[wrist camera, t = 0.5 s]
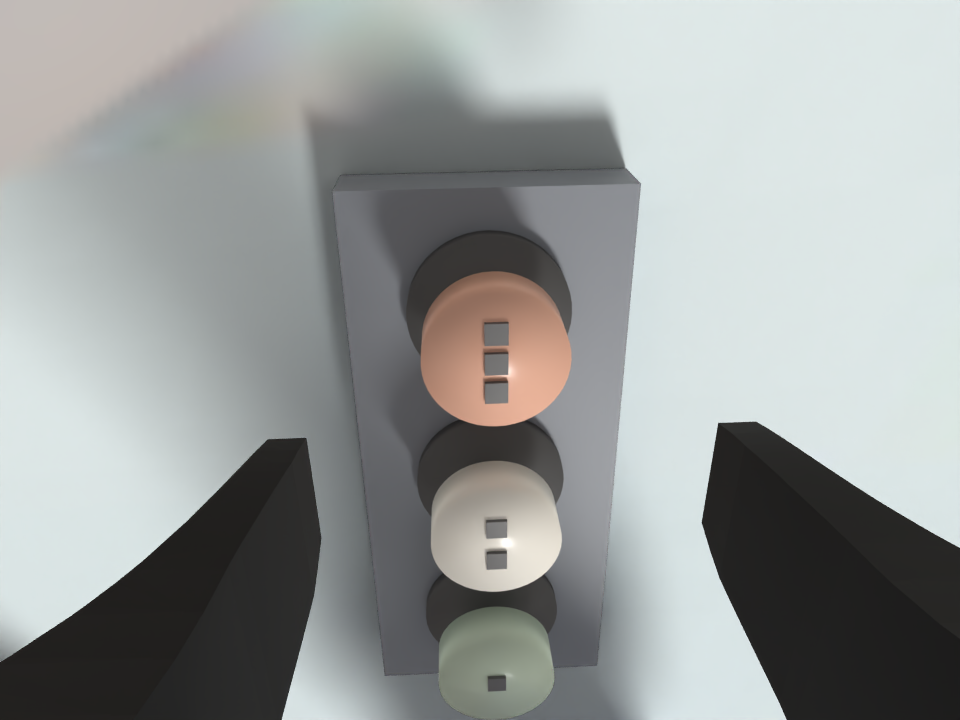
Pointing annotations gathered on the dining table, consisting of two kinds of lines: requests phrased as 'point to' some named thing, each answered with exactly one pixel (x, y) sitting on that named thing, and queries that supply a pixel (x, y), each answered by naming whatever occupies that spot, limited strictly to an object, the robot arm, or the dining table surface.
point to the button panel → (456, 443)
